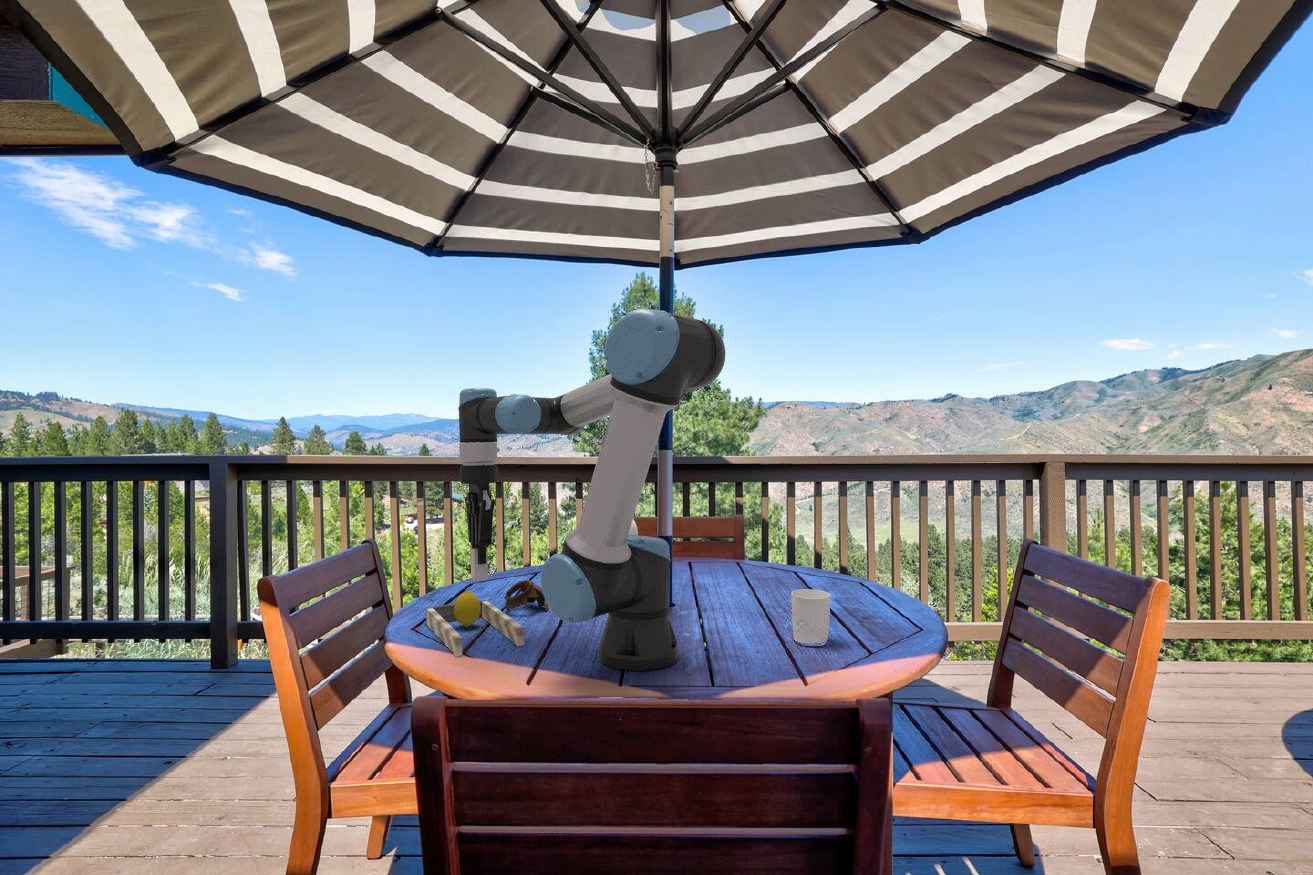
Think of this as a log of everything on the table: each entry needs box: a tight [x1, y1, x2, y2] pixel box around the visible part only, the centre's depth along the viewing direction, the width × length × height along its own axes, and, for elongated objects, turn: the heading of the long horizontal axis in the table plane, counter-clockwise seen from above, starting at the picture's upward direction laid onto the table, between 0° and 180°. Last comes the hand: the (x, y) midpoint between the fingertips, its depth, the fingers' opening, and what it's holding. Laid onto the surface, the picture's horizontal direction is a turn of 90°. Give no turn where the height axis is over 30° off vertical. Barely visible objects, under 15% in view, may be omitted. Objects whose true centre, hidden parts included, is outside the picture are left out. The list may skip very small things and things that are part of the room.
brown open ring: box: [504, 579, 550, 613], centre depth 157 cm, size 12×10×8 cm
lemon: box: [454, 590, 481, 629], centre depth 143 cm, size 6×6×8 cm
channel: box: [425, 599, 525, 658], centre depth 138 cm, size 25×13×4 cm, turn 32°
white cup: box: [790, 588, 832, 644], centre depth 135 cm, size 8×8×10 cm
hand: (480, 579), depth 134 cm, fingers closed
